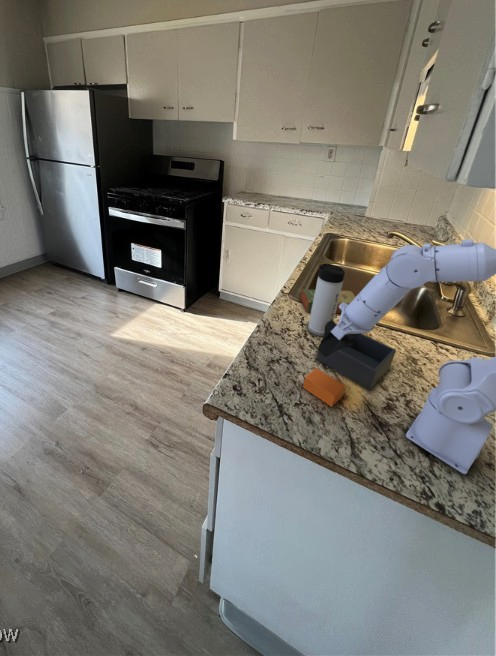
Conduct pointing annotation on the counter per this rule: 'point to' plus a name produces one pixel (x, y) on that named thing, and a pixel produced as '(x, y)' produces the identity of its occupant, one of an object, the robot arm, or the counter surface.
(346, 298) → the carton
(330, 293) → the travel mug
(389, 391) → the counter surface
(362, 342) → the bin
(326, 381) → the block
